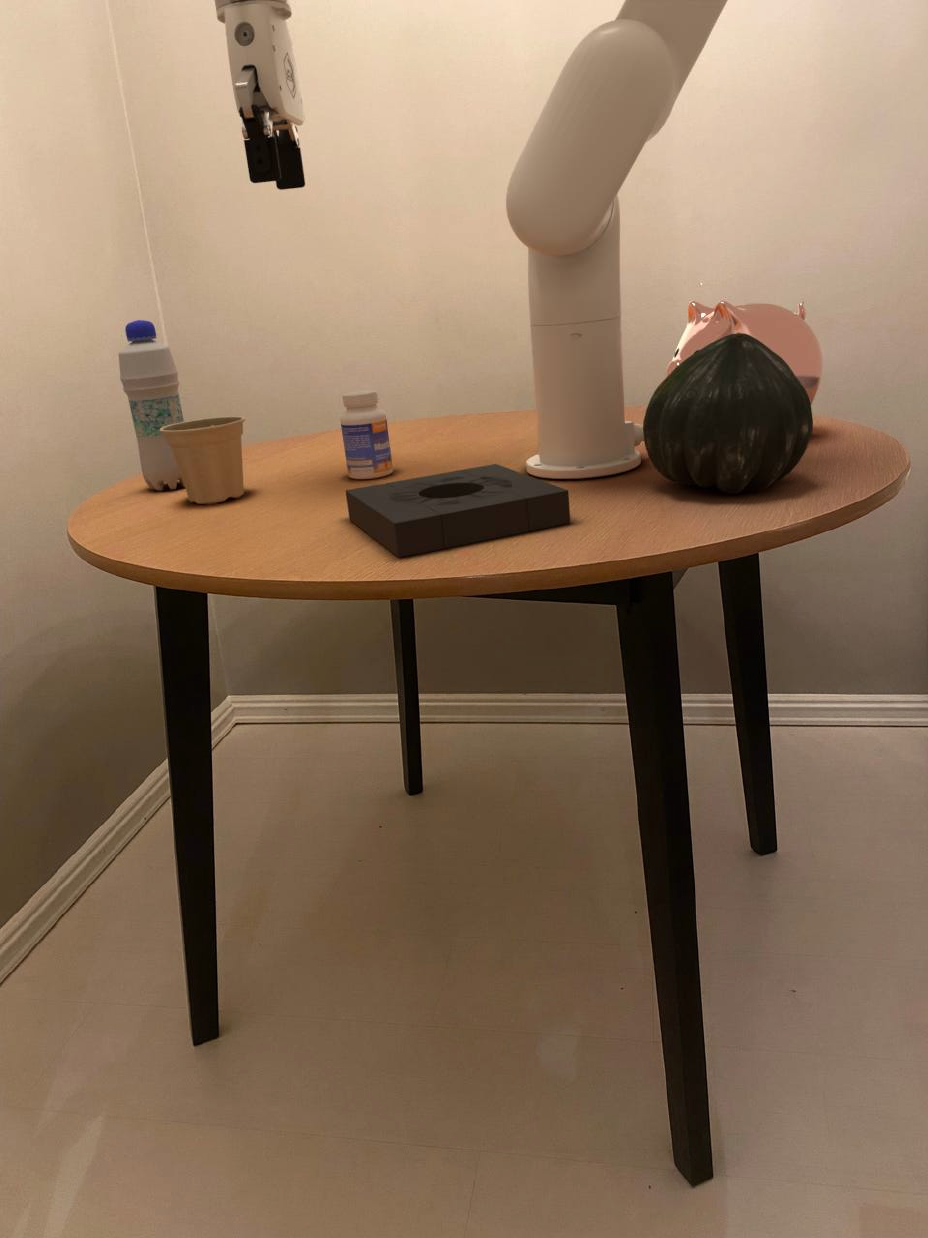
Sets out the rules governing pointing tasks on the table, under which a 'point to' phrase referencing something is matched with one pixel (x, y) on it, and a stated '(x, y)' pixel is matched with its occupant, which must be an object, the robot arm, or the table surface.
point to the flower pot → (208, 457)
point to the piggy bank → (756, 335)
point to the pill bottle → (365, 436)
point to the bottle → (151, 401)
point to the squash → (729, 418)
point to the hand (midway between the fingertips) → (279, 184)
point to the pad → (456, 508)
